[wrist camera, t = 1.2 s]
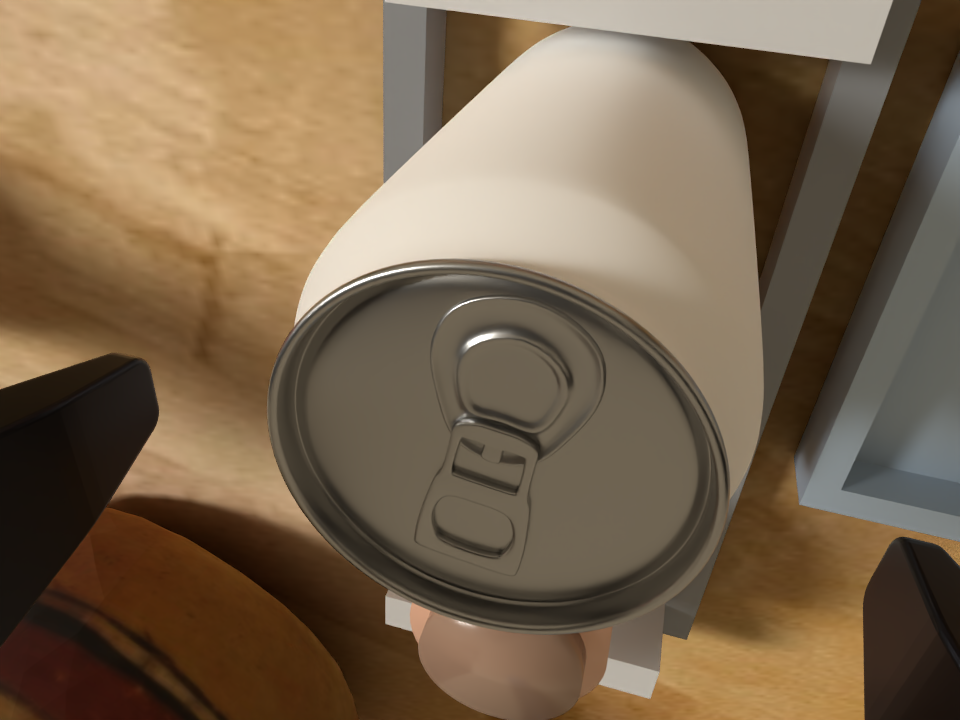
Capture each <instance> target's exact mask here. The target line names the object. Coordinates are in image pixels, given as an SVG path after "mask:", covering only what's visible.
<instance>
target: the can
mask: <svg viewBox="0 0 960 720" xmlns="http://www.w3.org/2000/svg"><path fill="white" fill-rule="evenodd" d="M763 399H764V371H763V346H762V328H761V312H760V297H759V282H758V268H757V254H756V240H755V227H754V214H753V201H752V189H751V177H750V165H749V155H748V146H747V138H746V132H745V126H744V122H743V118H742V115H741V111H740V108H739V106H738V103H737V101H736V99H735V96H734V94H733V92H732V90H731V88H730V87H729V85H728V83H727V82H726V80H725V79H724V77H723V76H722V74H721V73H720V72H719V70H718V69H717V68H716V67H715V65H714V64H713V63H712V62H711V61H710V60H709V59H708V58H707V57H706V56H705V55H704V54H703V53H702V52H701V51H700V50H699V49H697V48H696V47H695V46H694V45H693V44H691V43H690V42H689V41H685V40H677V39H669V38H661V37H653V36H646V35H638V34H630V33H622V32H614V31H607V30H599V29H591V28H583V27H575V26H572V27H569V28H566V29H563V30H561V31H558V32H556V33H554V34H552V35H550V36H548V37H546V38H544V39H543V40H541V41H539V42H538V43H536V44H535V45H533V46H532V47H531V48H529V49H528V50H527V51H525V52H524V53H523V54H522V55H520V56H519V57H518V58H517V59H516V60H515V61H514V62H512V63H511V64H510V65H509V66H508V67H507V68H506V69H505V70H503V71H502V72H501V73H500V74H499V75H498V76H497V77H496V78H495V79H494V80H493V81H492V82H490V83H489V84H488V85H487V86H486V87H485V88H484V89H483V90H482V91H481V92H480V93H479V94H478V95H477V96H476V97H474V98H473V99H472V100H471V101H470V102H469V103H468V104H467V105H466V106H465V107H464V108H463V109H462V110H461V111H460V112H459V113H457V114H456V115H455V116H454V117H453V118H452V119H451V120H450V121H449V122H448V123H447V124H446V125H445V126H444V127H443V128H442V129H441V130H440V131H438V132H437V133H436V134H435V135H434V136H433V137H432V138H431V139H430V140H429V141H428V142H427V143H426V144H425V145H424V146H423V147H422V148H421V149H420V150H419V151H418V152H416V153H415V154H414V155H413V156H412V157H411V158H410V159H409V160H408V161H407V162H406V163H405V164H404V165H403V166H402V167H401V168H400V169H399V170H398V171H397V172H396V173H395V174H394V175H393V176H391V177H390V178H389V179H388V180H387V181H386V182H385V183H384V184H383V185H382V186H381V187H380V188H379V189H378V190H377V191H376V192H375V193H374V194H373V195H372V196H371V197H370V198H369V199H368V200H367V201H366V202H365V203H364V204H363V205H362V206H361V207H360V208H359V209H358V210H357V211H356V212H355V213H354V214H353V215H352V217H351V218H350V219H349V220H348V221H347V222H346V223H345V224H344V225H343V226H342V227H341V228H340V229H339V231H338V232H337V233H336V234H335V236H334V237H333V238H332V240H331V241H330V242H329V244H328V245H327V246H326V248H325V249H324V251H323V252H322V254H321V255H320V257H319V258H318V260H317V261H316V263H315V265H314V267H313V268H312V270H311V272H310V274H309V276H308V279H307V281H306V283H305V286H304V289H303V292H302V295H301V298H300V302H299V305H298V309H297V313H296V319H295V325H294V327H293V329H292V330H291V331H290V333H289V335H288V336H287V338H286V339H285V341H284V343H283V345H282V347H281V349H280V351H279V353H278V355H277V358H276V360H275V363H274V366H273V369H272V373H271V377H270V382H269V387H268V396H267V421H268V430H269V435H270V441H271V445H272V449H273V452H274V456H275V459H276V462H277V464H278V467H279V470H280V472H281V474H282V477H283V479H284V481H285V483H286V485H287V487H288V489H289V491H290V492H291V494H292V496H293V498H294V499H295V501H296V503H297V504H298V506H299V507H300V509H301V510H302V512H303V513H304V514H305V516H306V517H307V518H308V520H309V521H310V522H311V524H312V525H313V526H314V527H315V528H316V530H317V531H318V532H319V533H320V534H321V535H322V536H323V537H324V539H325V540H326V541H327V542H328V543H329V544H330V545H331V546H332V547H333V548H334V549H335V550H336V551H337V552H339V553H340V554H341V555H342V556H343V557H344V558H345V559H346V560H348V561H349V562H350V563H351V564H352V565H354V566H355V567H356V568H357V569H359V570H360V571H361V572H363V573H364V574H365V575H367V576H368V577H370V578H371V579H373V580H374V581H376V582H377V583H379V584H380V585H382V586H383V587H385V588H387V589H388V590H390V591H392V592H393V593H395V594H397V595H399V596H400V597H402V598H404V599H406V600H408V601H410V602H412V603H414V604H416V605H418V606H421V607H423V608H425V609H428V610H430V611H432V612H435V613H437V614H440V615H443V616H445V617H448V618H451V619H454V620H457V621H461V622H464V623H468V624H471V625H475V626H479V627H483V628H488V629H493V630H499V631H505V632H512V633H521V634H537V635H559V634H573V633H582V632H589V631H594V630H599V629H604V628H608V627H612V626H615V625H618V624H622V623H625V622H627V621H630V620H633V619H635V618H638V617H640V616H642V615H644V614H646V613H649V612H650V611H652V610H654V609H656V608H658V607H659V606H661V605H663V604H664V603H666V602H667V601H669V600H670V599H672V598H673V597H674V596H676V595H677V594H678V593H679V592H681V591H682V590H683V589H684V588H685V587H686V586H687V585H688V584H689V583H690V582H691V581H692V580H693V579H694V578H695V577H696V576H697V575H698V574H699V572H700V571H701V570H702V569H703V567H704V566H705V565H706V563H707V562H708V560H709V559H710V557H711V555H712V554H713V552H714V550H715V548H716V546H717V544H718V542H719V539H720V537H721V534H722V531H723V529H724V525H725V522H726V518H727V513H728V507H729V500H730V499H731V497H732V496H733V494H734V493H735V491H736V489H737V488H738V486H739V484H740V483H741V481H742V479H743V477H744V475H745V473H746V471H747V469H748V467H749V465H750V462H751V460H752V457H753V454H754V452H755V448H756V445H757V441H758V436H759V432H760V425H761V418H762V411H763Z"/></svg>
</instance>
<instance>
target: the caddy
mask: <svg viewBox="0 0 960 720" xmlns="http://www.w3.org/2000/svg"><path fill="white" fill-rule="evenodd" d="M920 3H921V0H383V109H384V183H385V182H386V181H387V180H388V179H389V178H390V177H391V176H393V175H394V174H395V173H396V172H397V171H398V170H399V169H400V168H401V167H402V166H403V165H404V164H405V163H406V162H407V161H408V160H409V159H410V158H411V157H412V156H413V155H414V154H415V153H416V152H418V151H419V150H420V149H421V148H422V147H423V146H424V145H425V144H426V143H427V142H428V141H429V140H430V139H431V138H432V137H433V136H434V135H435V134H436V133H437V132H438V131H440V130H441V129H442V110H443V86H444V62H445V38H446V14H447V10H450V11H458V12H466V13H474V14H482V15H489V16H497V17H505V18H513V19H521V20H528V21H536V22H544V23H552V24H560V25H567V26H575V27H583V28H591V29H599V30H607V31H614V32H622V33H630V34H638V35H646V36H653V37H661V38H669V39H677V40H685V41H692V42H700V43H708V44H716V45H724V46H731V47H739V48H747V49H755V50H763V51H770V52H778V53H786V54H794V55H802V56H809V57H817V58H825V59H830V60H829V63H828V66H827V69H826V72H825V75H824V79H823V82H822V85H821V88H820V91H819V94H818V98H817V101H816V104H815V107H814V110H813V113H812V116H811V120H810V123H809V126H808V129H807V132H806V135H805V139H804V142H803V145H802V148H801V151H800V154H799V158H798V161H797V164H796V167H795V170H794V173H793V176H792V180H791V183H790V186H789V189H788V192H787V195H786V199H785V202H784V205H783V208H782V211H781V214H780V217H779V221H778V224H777V227H776V230H775V233H774V236H773V240H772V243H771V246H770V249H769V252H768V255H767V258H766V262H765V265H764V268H763V271H762V274H761V277H760V281H759V297H760V312H761V328H762V346H763V371H764V399H763V411H762V418H761V425H760V432H759V436H758V441H757V445H756V448H755V452H756V450H757V447H758V444H759V441H760V439H761V436H762V433H763V431H764V428H765V425H766V422H767V420H768V417H769V414H770V411H771V409H772V406H773V403H774V401H775V398H776V395H777V392H778V390H779V387H780V384H781V382H782V379H783V376H784V373H785V371H786V368H787V365H788V362H789V360H790V357H791V354H792V352H793V349H794V346H795V343H796V341H797V338H798V335H799V332H800V330H801V327H802V324H803V322H804V319H805V316H806V313H807V311H808V308H809V305H810V303H811V300H812V297H813V294H814V292H815V289H816V286H817V283H818V281H819V278H820V275H821V273H822V270H823V267H824V264H825V262H826V259H827V256H828V254H829V251H830V248H831V245H832V243H833V240H834V237H835V234H836V232H837V229H838V226H839V224H840V221H841V218H842V215H843V213H844V210H845V207H846V204H847V202H848V199H849V196H850V194H851V191H852V188H853V185H854V183H855V180H856V177H857V175H858V172H859V169H860V166H861V164H862V161H863V158H864V155H865V153H866V150H867V147H868V145H869V142H870V139H871V136H872V134H873V131H874V128H875V126H876V123H877V120H878V117H879V115H880V112H881V109H882V106H883V104H884V101H885V98H886V96H887V93H888V90H889V87H890V85H891V82H892V79H893V76H894V74H895V71H896V68H897V66H898V63H899V60H900V57H901V55H902V52H903V49H904V47H905V44H906V41H907V38H908V36H909V33H910V30H911V27H912V25H913V22H914V19H915V17H916V14H917V11H918V8H919V6H920ZM755 452H754V454H753V457H752V460H753V458H754V455H755ZM752 460H751V462H750V465H749V467H748V469H747V471H746V473H745V475H744V477H743V479H742V481H741V483H740V484H739V486H738V488H737V489H736V491H735V493H734V494H733V496H732V497H731V499H730V500H729V507H728V513H727V518H726V522H725V525H724V529H723V531H722V534H721V537H720V539H719V542H718V544H717V546H716V548H715V550H714V552H713V554H712V555H711V557H710V559H709V560H708V562H707V563H706V565H705V566H704V567H703V569H702V570H701V571H700V572H699V574H698V575H697V576H696V577H695V578H694V579H693V580H692V581H691V582H690V583H689V584H688V585H687V586H686V587H685V588H684V589H683V590H682V591H681V592H679V593H678V594H677V595H676V596H674V597H673V598H672V599H670V600H669V601H667V602H666V603H664V604H663V605H661V606H659V607H658V608H656V609H654V610H652V611H650V612H649V613H646V614H644V615H642V616H640V617H638V618H635V619H633V620H630V621H627V622H625V623H622V624H618V625H615V626H613V627H612V634H611V641H610V648H609V654H608V661H607V667H606V671H605V674H604V676H603V678H602V680H601V681H600V682H599V685H603V686H606V687H610V688H613V689H617V690H620V691H624V692H627V693H631V694H635V695H638V696H642V697H645V698H649V699H650V698H651V695H652V692H653V689H654V686H655V683H656V681H657V678H658V675H659V672H660V660H661V647H662V635H663V634H667V635H670V636H674V637H678V638H682V639H685V640H687V638H688V635H689V632H690V629H691V627H692V624H693V621H694V618H695V616H696V613H697V610H698V608H699V605H700V602H701V599H702V597H703V594H704V591H705V588H706V586H707V583H708V580H709V578H710V575H711V572H712V569H713V567H714V564H715V561H716V559H717V556H718V553H719V550H720V548H721V545H722V542H723V539H724V537H725V534H726V531H727V529H728V526H729V523H730V520H731V518H732V515H733V512H734V510H735V507H736V504H737V501H738V499H739V496H740V493H741V490H742V488H743V485H744V482H745V480H746V477H747V474H748V471H749V469H750V466H751V463H752ZM411 605H412V602H410V601H408V600H406V599H404V598H402V597H400V596H399V595H397V594H395V593H393V592H392V591H390V590H388V592H387V594H386V596H385V624H388V625H391V626H395V627H398V628H402V629H405V630H409V631H412V628H411V624H410V609H411Z"/></svg>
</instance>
